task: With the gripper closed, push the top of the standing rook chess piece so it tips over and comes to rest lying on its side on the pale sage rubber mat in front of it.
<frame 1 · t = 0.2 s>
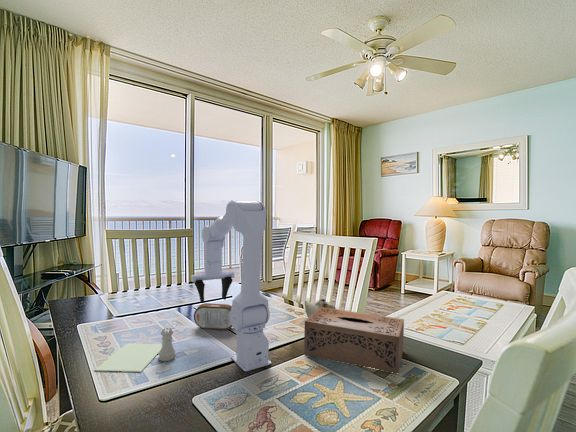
hand: (213, 300, 110), 10 cm above the table, fingers open, 7 cm apart
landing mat: (133, 356, 90), on the table
tin: (215, 329, 111), on the table
tissue box cover: (354, 354, 94), on the table
ceramic sculpture: (324, 322, 120), on the table
rook chess piece: (167, 358, 89), on the table
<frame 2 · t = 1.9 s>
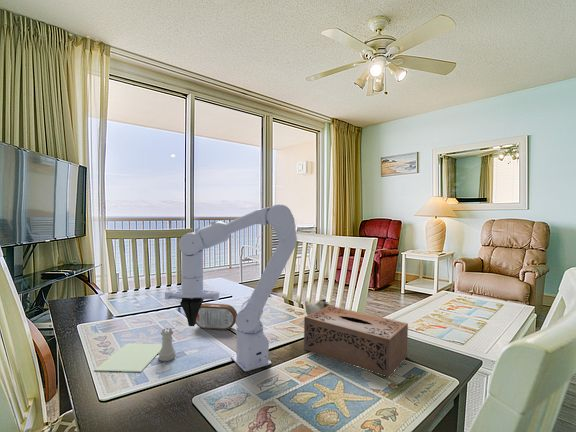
hand: (192, 325, 89), 9 cm above the table, fingers closed
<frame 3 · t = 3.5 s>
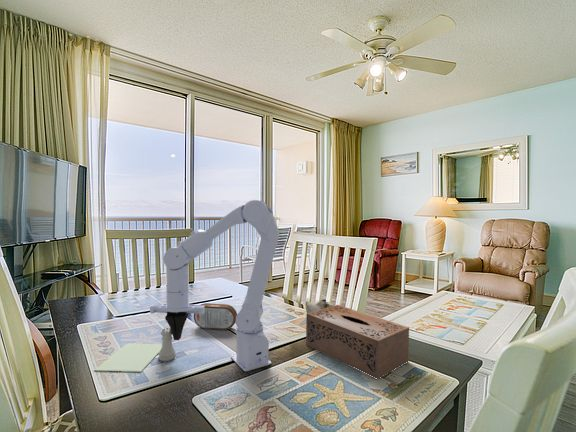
hand: (177, 338, 89), 5 cm above the table, fingers closed
rook chess piece: (167, 358, 89), on the table, touching gripper
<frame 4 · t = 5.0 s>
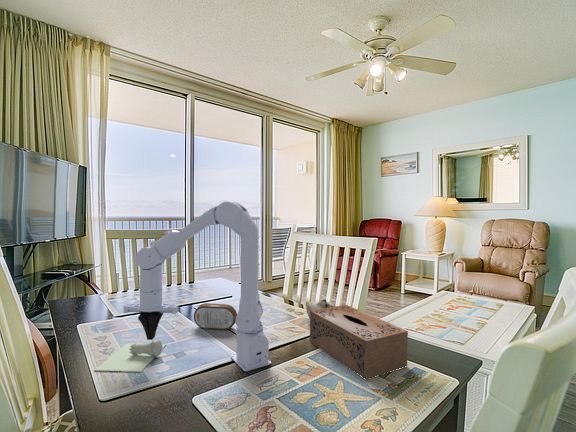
hand: (151, 338, 89), 5 cm above the table, fingers closed
rook chess piece: (159, 348, 89), point 3 cm above the table, touching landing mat
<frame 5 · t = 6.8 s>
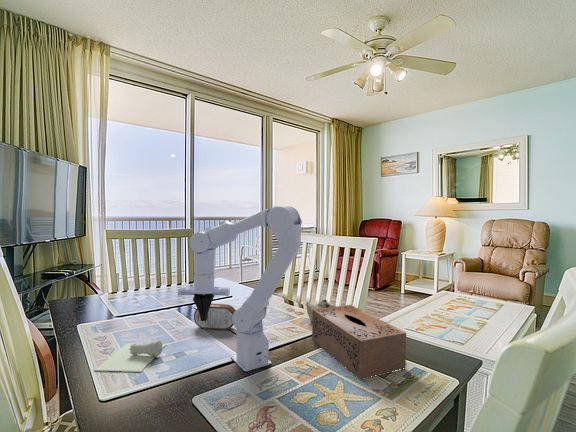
hand: (204, 319, 93), 9 cm above the table, fingers closed
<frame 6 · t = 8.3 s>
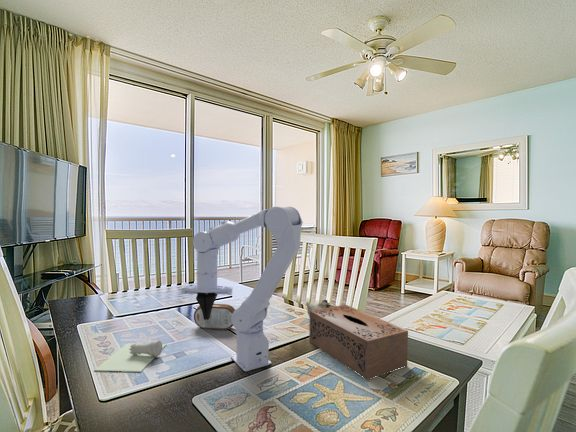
hand: (207, 318, 94), 9 cm above the table, fingers closed
at the end: rook chess piece tilted 95°; rook chess piece touching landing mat; rook chess piece inside the target area (0.3 cm from its centre), point 2.6 cm above the table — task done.
